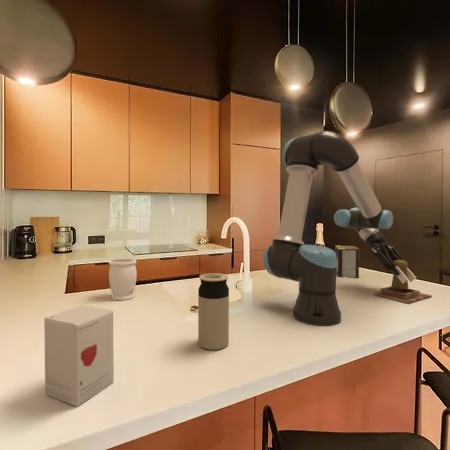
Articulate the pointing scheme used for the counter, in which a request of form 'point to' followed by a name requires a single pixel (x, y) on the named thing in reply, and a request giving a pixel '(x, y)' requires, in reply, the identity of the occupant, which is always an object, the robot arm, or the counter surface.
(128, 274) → the jar
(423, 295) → the walnut holder
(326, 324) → the robot arm
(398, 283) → the cork
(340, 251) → the protein box
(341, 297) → the counter surface
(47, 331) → the supplement box
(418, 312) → the counter surface
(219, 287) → the travel mug
